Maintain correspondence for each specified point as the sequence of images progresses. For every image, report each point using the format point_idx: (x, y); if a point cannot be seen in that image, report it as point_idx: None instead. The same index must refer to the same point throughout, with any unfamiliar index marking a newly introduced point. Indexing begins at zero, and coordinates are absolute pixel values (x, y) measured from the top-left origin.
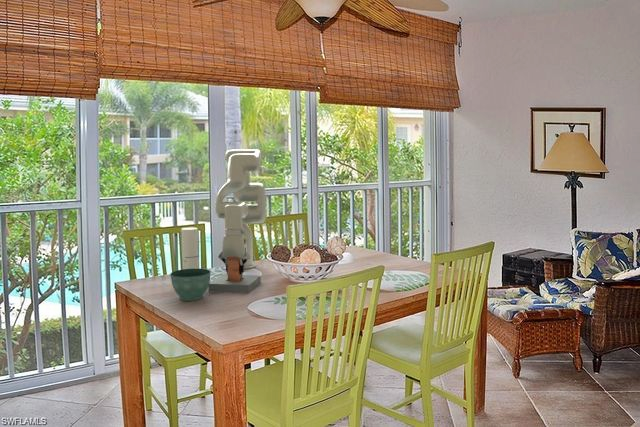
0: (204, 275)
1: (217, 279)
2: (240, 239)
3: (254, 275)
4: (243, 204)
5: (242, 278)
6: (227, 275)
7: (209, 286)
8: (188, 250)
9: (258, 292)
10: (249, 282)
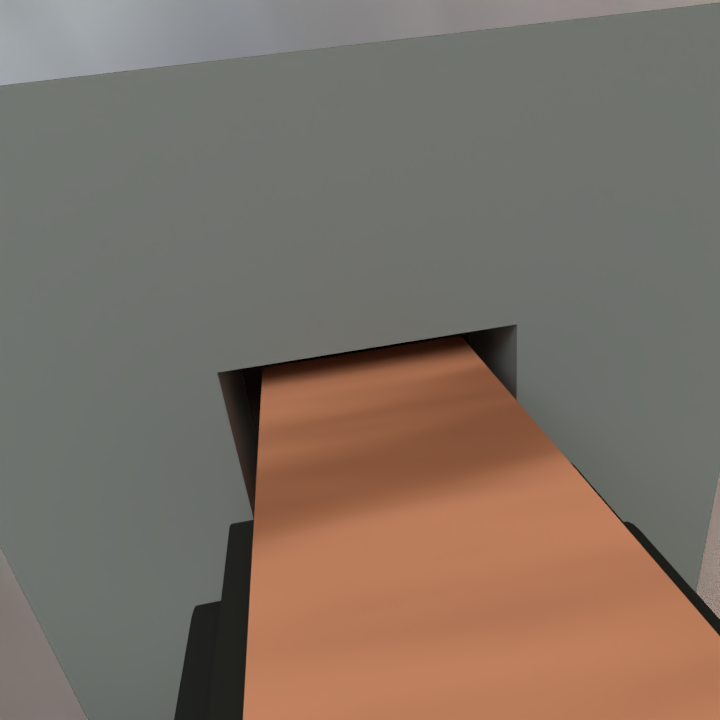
0: None
1: (72, 567)
2: None
3: (673, 31)
4: None
5: (471, 328)
6: (34, 219)
7: None
8: None
9: (714, 507)
10: (667, 545)
